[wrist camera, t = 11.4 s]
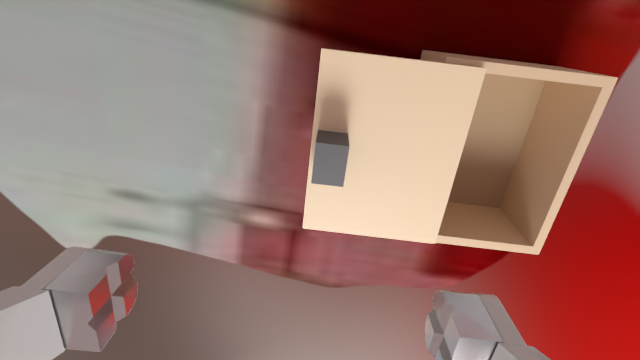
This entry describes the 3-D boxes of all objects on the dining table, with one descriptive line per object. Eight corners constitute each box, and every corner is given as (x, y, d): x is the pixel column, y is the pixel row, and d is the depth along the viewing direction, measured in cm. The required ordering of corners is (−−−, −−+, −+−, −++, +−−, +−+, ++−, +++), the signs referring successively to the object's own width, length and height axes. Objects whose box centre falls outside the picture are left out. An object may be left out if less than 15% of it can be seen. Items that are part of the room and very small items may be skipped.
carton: (422, 49, 41) (446, 56, 32) (556, 65, 41) (618, 77, 32) (389, 199, 49) (401, 238, 40) (501, 212, 50) (538, 254, 40)
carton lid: (321, 47, 32) (319, 51, 28) (483, 67, 32) (506, 74, 28) (303, 224, 40) (298, 249, 35) (433, 239, 40) (445, 266, 36)
